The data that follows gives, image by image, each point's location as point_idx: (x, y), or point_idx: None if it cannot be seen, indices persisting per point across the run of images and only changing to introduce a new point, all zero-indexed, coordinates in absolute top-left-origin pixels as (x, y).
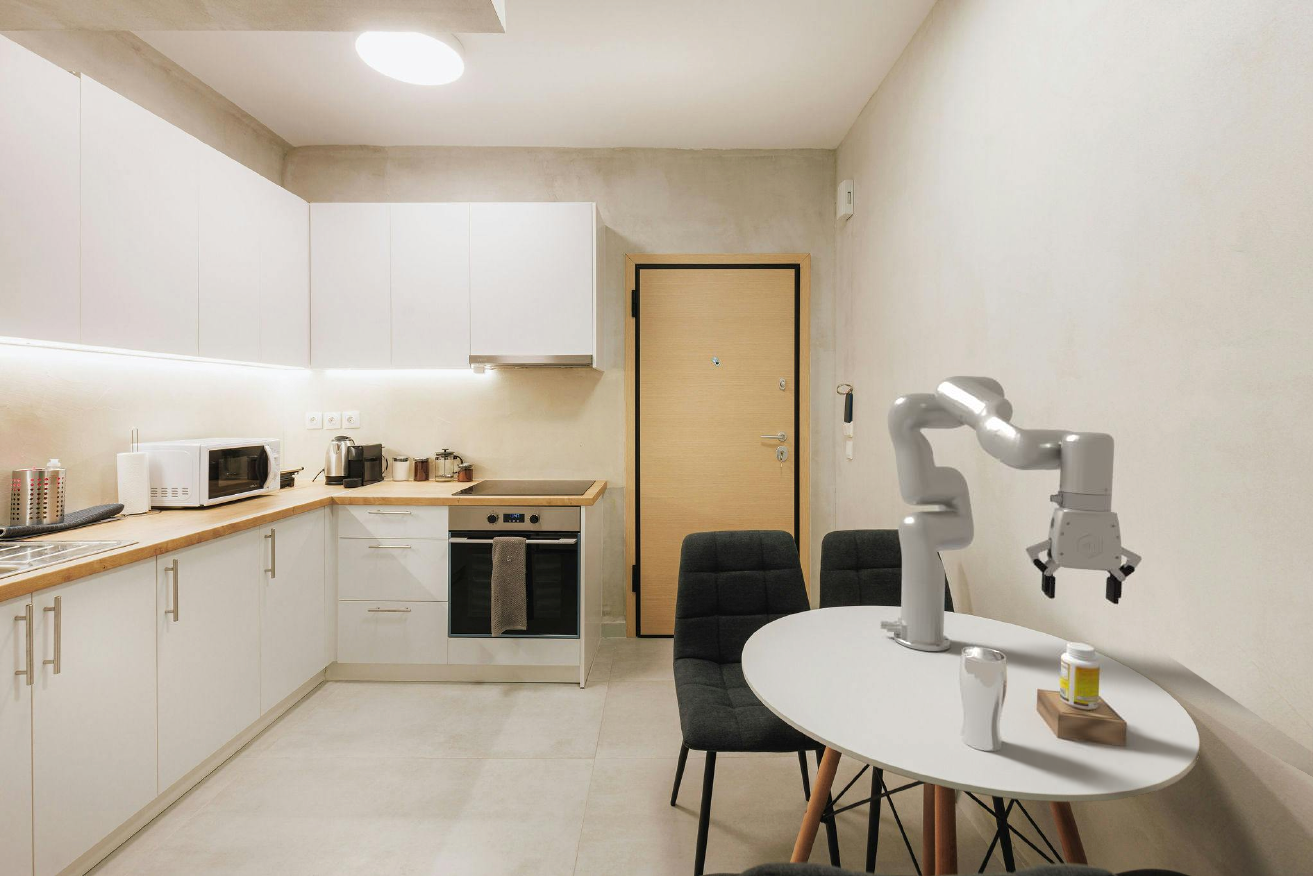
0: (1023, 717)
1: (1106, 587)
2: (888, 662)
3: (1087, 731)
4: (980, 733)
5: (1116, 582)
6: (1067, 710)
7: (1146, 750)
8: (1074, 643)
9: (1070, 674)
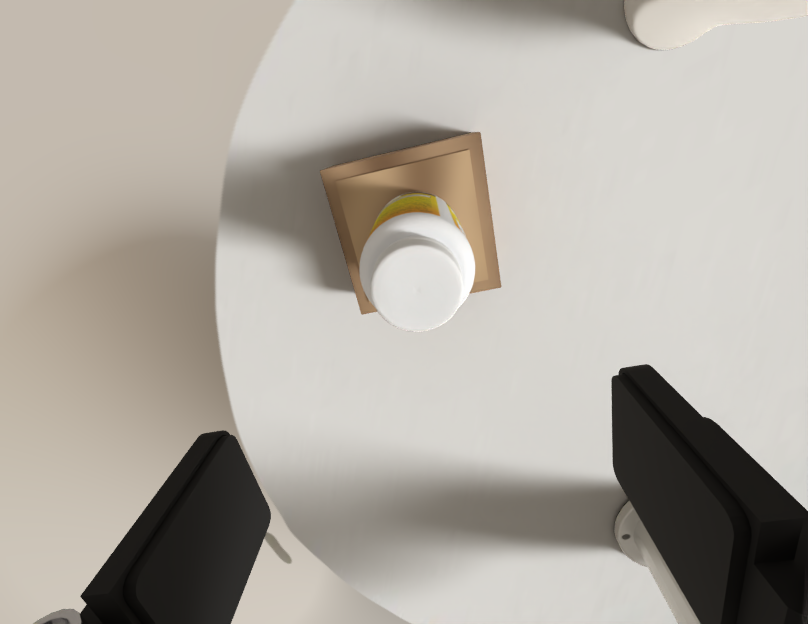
0: (529, 214)
1: (241, 587)
2: (794, 384)
3: (408, 148)
4: None
5: (113, 582)
6: (452, 170)
7: (294, 169)
8: (434, 314)
9: (450, 216)
